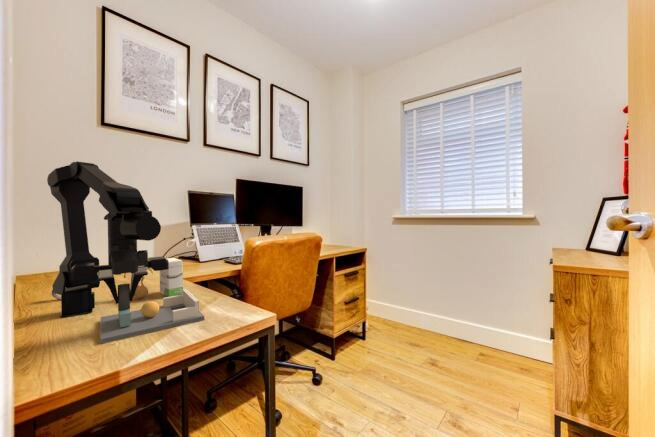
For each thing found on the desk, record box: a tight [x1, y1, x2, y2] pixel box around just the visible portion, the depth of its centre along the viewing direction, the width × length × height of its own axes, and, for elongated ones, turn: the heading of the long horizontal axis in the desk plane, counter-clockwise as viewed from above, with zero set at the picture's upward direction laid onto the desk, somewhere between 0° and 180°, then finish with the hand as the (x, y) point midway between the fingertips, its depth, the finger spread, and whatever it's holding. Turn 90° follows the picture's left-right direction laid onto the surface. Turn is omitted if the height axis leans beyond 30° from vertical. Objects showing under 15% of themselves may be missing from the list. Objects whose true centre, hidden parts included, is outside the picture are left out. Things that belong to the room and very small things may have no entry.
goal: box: [162, 288, 200, 322], centre depth 77 cm, size 6×14×4 cm, turn 39°
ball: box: [140, 300, 160, 318], centre depth 72 cm, size 4×4×4 cm
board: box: [100, 304, 205, 344], centre depth 72 cm, size 21×16×1 cm
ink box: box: [159, 257, 184, 297], centre depth 96 cm, size 9×5×12 cm, turn 48°
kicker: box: [117, 283, 131, 327], centre depth 69 cm, size 2×8×9 cm, turn 39°
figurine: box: [123, 268, 154, 299], centre depth 91 cm, size 8×6×12 cm
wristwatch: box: [51, 289, 61, 301], centre depth 90 cm, size 6×3×5 cm, turn 101°
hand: (124, 302), depth 69 cm, fingers closed on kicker, 2 cm apart
